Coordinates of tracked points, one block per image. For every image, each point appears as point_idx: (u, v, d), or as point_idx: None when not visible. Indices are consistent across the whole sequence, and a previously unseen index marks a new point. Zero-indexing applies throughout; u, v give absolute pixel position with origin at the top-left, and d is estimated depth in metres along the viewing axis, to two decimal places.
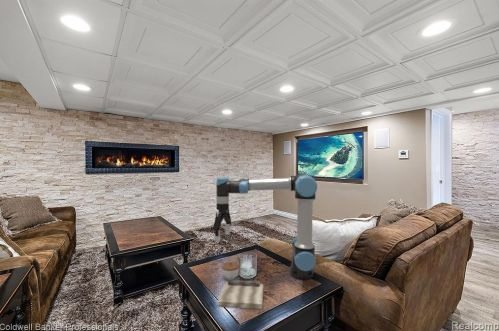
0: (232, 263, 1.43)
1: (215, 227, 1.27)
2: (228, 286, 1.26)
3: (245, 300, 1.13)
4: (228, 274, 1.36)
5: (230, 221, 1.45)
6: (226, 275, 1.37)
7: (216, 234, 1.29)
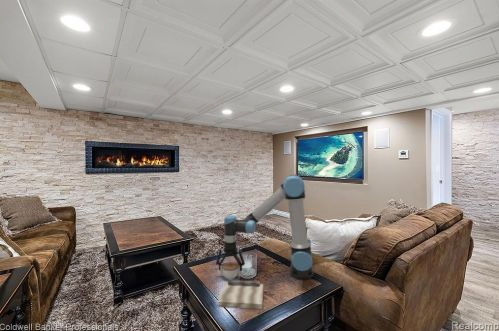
0: (232, 263, 1.43)
1: None
2: (228, 286, 1.26)
3: (245, 300, 1.13)
4: (228, 274, 1.36)
5: (242, 264, 1.39)
6: (226, 275, 1.37)
7: (219, 268, 1.42)
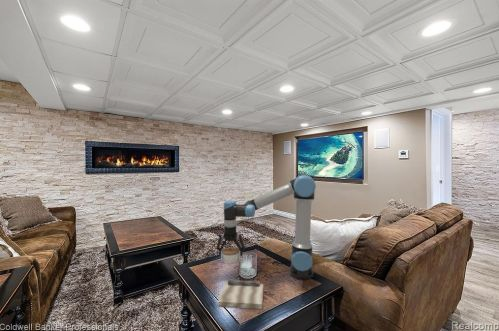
0: (232, 248, 1.43)
1: (217, 246, 1.42)
2: (228, 286, 1.26)
3: (245, 300, 1.13)
4: (228, 258, 1.36)
5: (242, 249, 1.39)
6: (227, 260, 1.36)
7: None
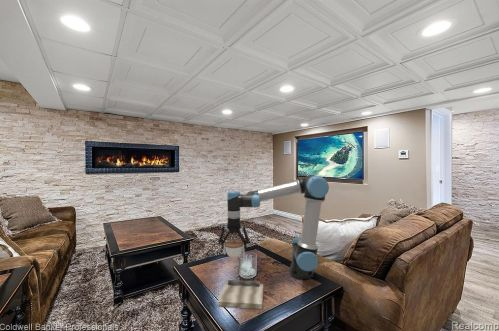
0: (236, 241, 1.35)
1: None
2: (228, 286, 1.26)
3: (245, 300, 1.13)
4: (232, 252, 1.28)
5: (246, 242, 1.31)
6: (229, 253, 1.29)
7: None
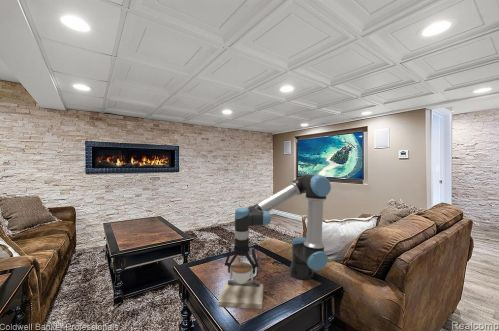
0: (243, 264, 1.22)
1: None
2: (228, 286, 1.26)
3: (245, 300, 1.13)
4: (239, 277, 1.15)
5: (255, 266, 1.18)
6: (237, 278, 1.15)
7: (228, 270, 1.20)
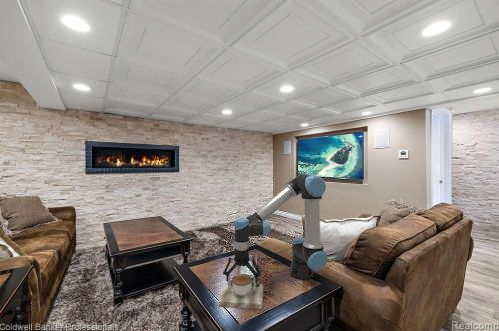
0: (244, 276, 1.22)
1: (224, 270, 1.20)
2: None
3: (245, 300, 1.13)
4: (240, 290, 1.15)
5: (258, 275, 1.18)
6: (237, 291, 1.15)
7: None
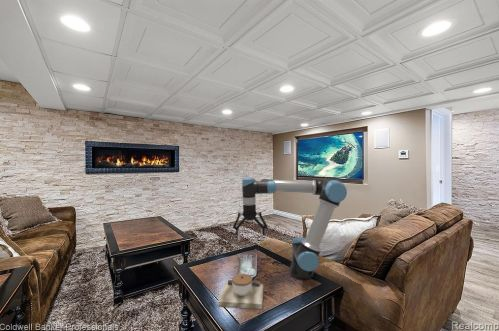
0: (244, 276, 1.22)
1: None
2: (228, 286, 1.26)
3: (245, 300, 1.13)
4: (240, 290, 1.15)
5: (265, 227, 1.30)
6: (237, 291, 1.15)
7: (236, 232, 1.32)
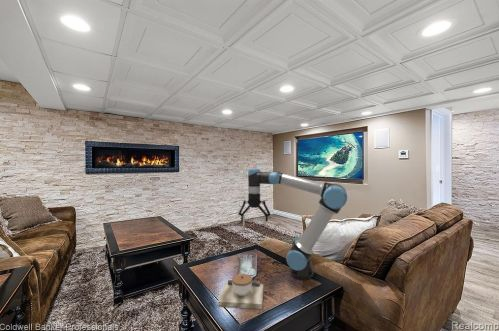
0: (244, 276, 1.22)
1: (239, 212, 1.43)
2: (228, 286, 1.26)
3: (245, 300, 1.13)
4: (240, 290, 1.15)
5: (268, 214, 1.40)
6: (237, 291, 1.15)
7: None
